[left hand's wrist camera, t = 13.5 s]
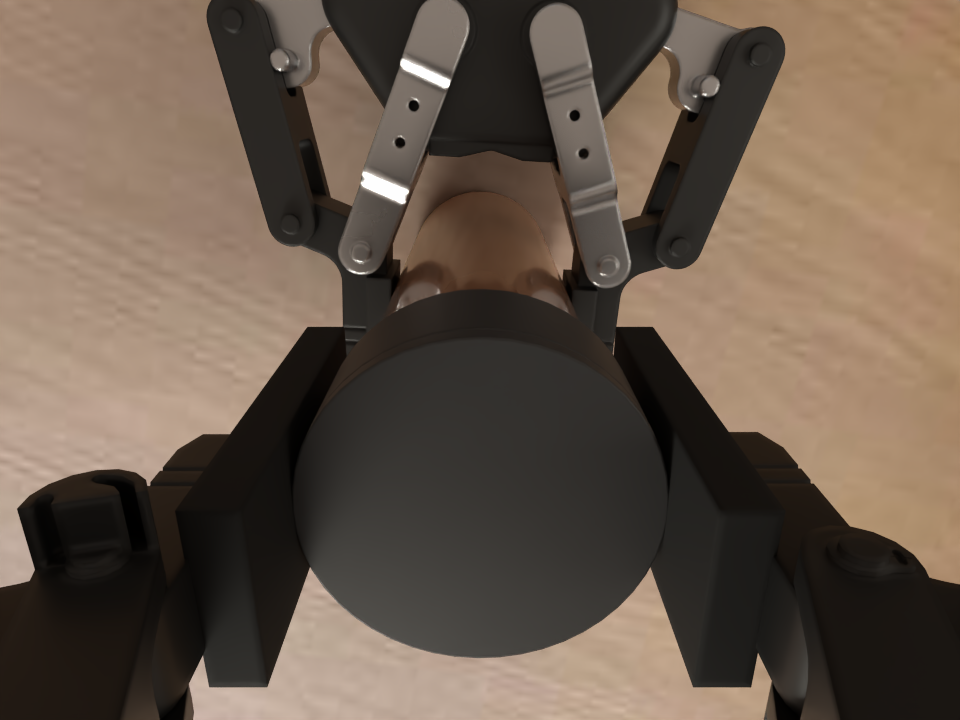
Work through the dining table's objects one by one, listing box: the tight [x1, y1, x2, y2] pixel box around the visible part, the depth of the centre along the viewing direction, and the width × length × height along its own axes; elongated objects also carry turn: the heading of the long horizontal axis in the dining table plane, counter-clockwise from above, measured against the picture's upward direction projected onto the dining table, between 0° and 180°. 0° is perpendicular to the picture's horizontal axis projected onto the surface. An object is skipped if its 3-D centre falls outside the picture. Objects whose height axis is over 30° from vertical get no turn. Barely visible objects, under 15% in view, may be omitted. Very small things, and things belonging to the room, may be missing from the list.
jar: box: [382, 191, 578, 320], centre depth 18 cm, size 5×5×16 cm
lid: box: [292, 289, 669, 658], centre depth 11 cm, size 6×6×2 cm
